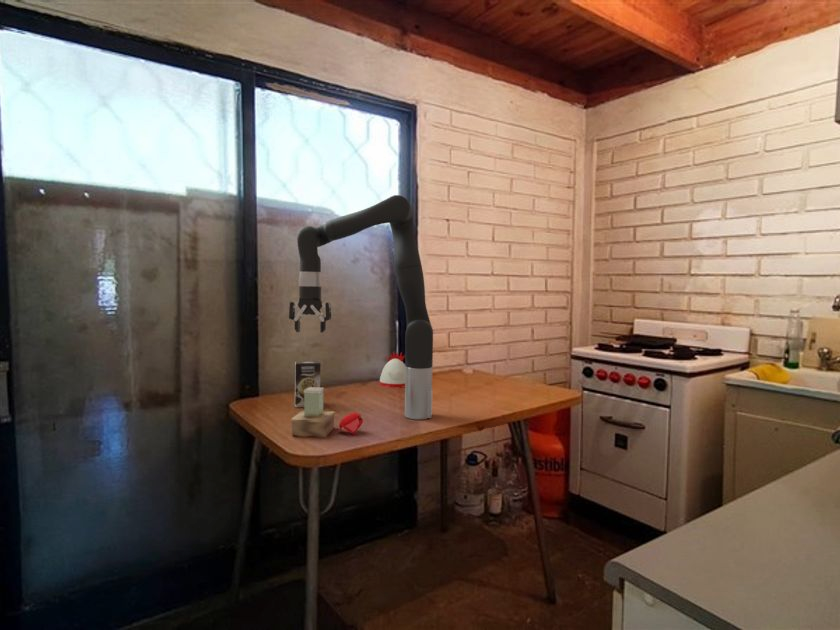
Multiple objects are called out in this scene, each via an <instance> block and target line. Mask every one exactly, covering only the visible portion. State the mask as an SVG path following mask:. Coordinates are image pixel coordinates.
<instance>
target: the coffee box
mask: <svg viewBox="0 0 840 630" xmlns="http://www.w3.org/2000/svg"><path fill="white" fill-rule="evenodd" d="M294 363H295V364H294V366H295V367H294V408H304V390H305V389H307V388H308V387H320V388H321V366H322V365H321V361H320V360H302V361H301V360H300V361H299V360H297V361H295V362H294Z"/></svg>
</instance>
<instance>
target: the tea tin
mask: <svg viewBox="0 0 840 630" xmlns="http://www.w3.org/2000/svg"><path fill="white" fill-rule="evenodd" d="M324 390H325V388H324V387H321V386H320V387H308V388H307V389H305V390H304V407H303V409H304V417H317V418H319V417H320V416H321V415H322V414H323V411H324Z"/></svg>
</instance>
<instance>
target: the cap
mask: <svg viewBox="0 0 840 630" xmlns="http://www.w3.org/2000/svg"><path fill="white" fill-rule="evenodd" d="M363 422H364V420H363V417H362V415H361V413H359V412H352V413H349V414H347V415H345V416H344V417H343V418H342V419H341V420H340V422H339V424H338V427H339V430H338V433H340V432H341V430H342V429H344V430H346V432H348V433H351V435H353V436H355V435H357V432H358V430H359V429H360V427H361V426H362V424H363Z"/></svg>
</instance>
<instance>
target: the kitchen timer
mask: <svg viewBox="0 0 840 630" xmlns="http://www.w3.org/2000/svg"><path fill="white" fill-rule="evenodd" d="M392 353H393V354H391V353H390V354H389V357H390V358H389V357H388V356H386V359H387V362H386V364H385V365H384V366H383V368H382V370H381V374H380V377H379V386H381V385H382V386H381V387H383V386H388V387H387V388H390V387H400V388H403V387H402V386H405V365H406V363H404V361H403V360H404V359H405V354H404V355H402V354H403V353H402V351H401V352H400V355H399V353H398V351H397V352H396V354H395V351H393V352H392Z"/></svg>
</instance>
